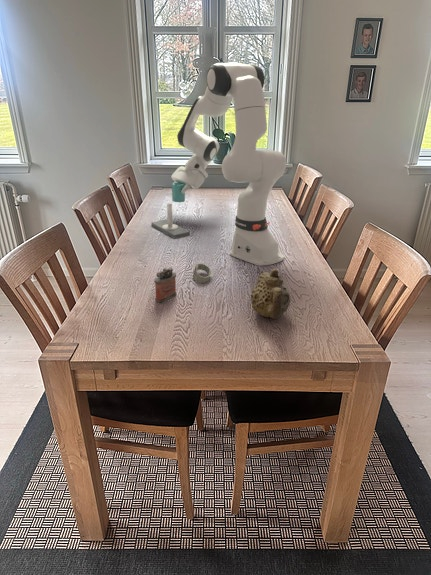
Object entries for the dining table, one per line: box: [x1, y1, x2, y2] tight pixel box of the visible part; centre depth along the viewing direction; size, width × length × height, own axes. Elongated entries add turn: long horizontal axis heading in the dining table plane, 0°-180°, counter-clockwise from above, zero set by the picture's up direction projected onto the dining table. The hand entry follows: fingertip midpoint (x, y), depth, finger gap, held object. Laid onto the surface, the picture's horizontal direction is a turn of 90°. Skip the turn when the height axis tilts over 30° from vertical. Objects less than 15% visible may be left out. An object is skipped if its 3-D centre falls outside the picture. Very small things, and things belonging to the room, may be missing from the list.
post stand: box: [150, 202, 191, 239], centre depth 183 cm, size 20×8×13 cm, turn 37°
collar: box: [171, 182, 186, 203], centre depth 195 cm, size 6×6×8 cm
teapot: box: [250, 268, 292, 320], centre depth 119 cm, size 21×12×15 cm, turn 4°
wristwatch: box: [192, 263, 212, 284], centre depth 142 cm, size 9×6×5 cm
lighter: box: [154, 267, 177, 304], centre depth 127 cm, size 8×3×10 cm, turn 141°
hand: (177, 191), depth 194 cm, fingers closed on collar, 6 cm apart
